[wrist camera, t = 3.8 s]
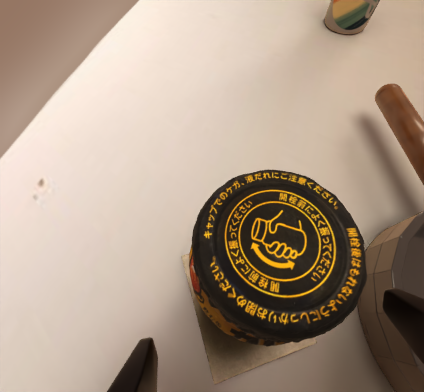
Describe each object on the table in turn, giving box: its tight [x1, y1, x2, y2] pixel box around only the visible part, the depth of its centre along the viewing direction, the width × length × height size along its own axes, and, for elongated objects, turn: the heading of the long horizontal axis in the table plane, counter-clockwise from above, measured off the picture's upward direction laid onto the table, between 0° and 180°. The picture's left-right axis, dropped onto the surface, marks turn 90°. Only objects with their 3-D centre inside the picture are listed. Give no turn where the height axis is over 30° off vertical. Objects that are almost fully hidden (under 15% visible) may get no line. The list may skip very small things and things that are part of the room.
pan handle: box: [375, 84, 424, 185], centre depth 19 cm, size 12×2×2 cm, turn 5°
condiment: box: [181, 170, 367, 384], centre depth 12 cm, size 7×8×12 cm
